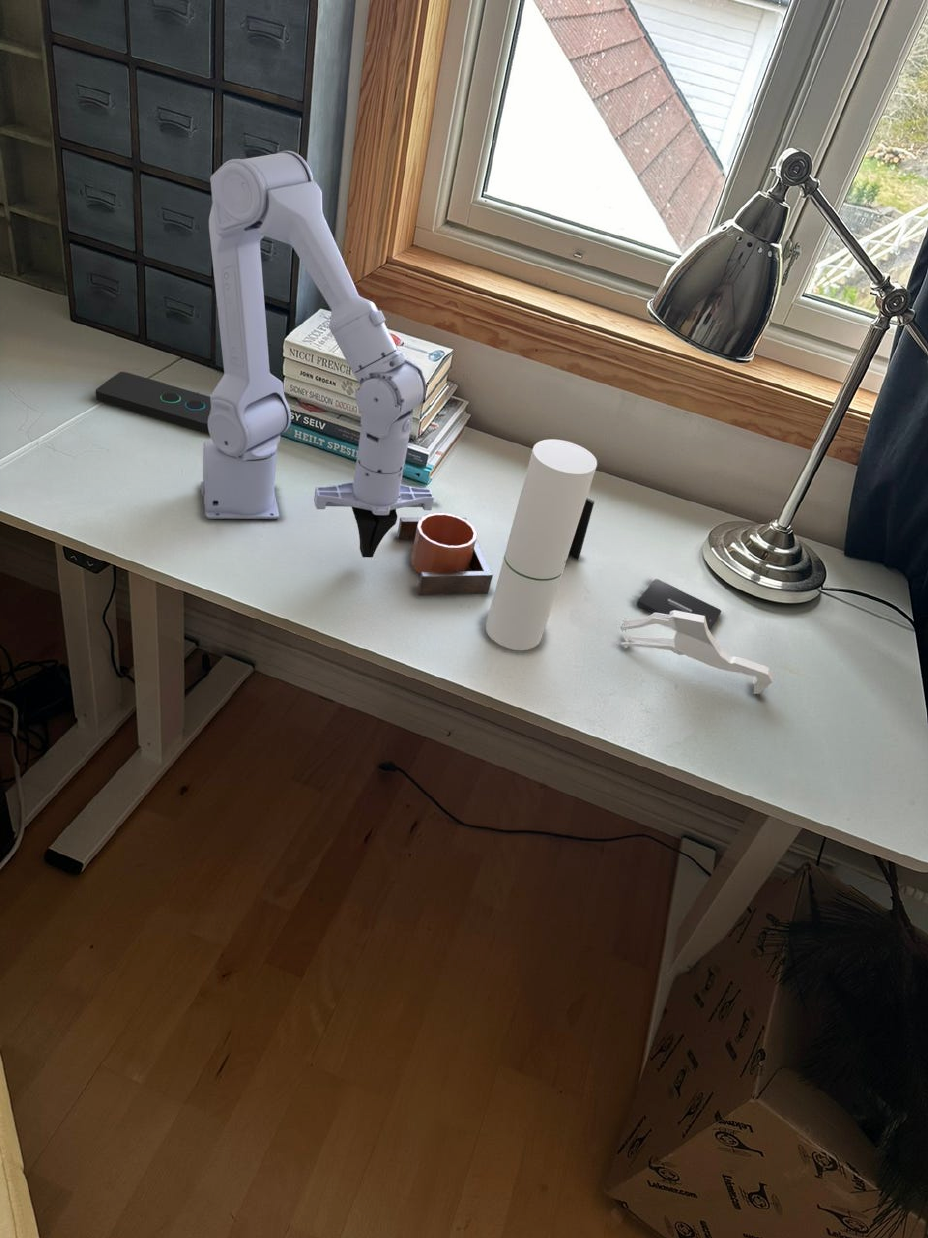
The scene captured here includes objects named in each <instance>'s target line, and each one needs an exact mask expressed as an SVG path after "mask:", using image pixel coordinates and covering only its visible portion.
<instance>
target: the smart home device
mask: <svg viewBox="0 0 928 1238" xmlns="http://www.w3.org/2000/svg"><path fill="white" fill-rule="evenodd" d="M210 396H211V395H210ZM210 396H209V395H206V394H202V393H199V392H196V391H192V390H188V389H186V388H182V387H178V386H175V385H171V384H168V383H165V382H162V381H158V380H155V379H151V378H148V377H144V376H141V375H137V374H134V373H130V372H127V371H119V372H118V373H116V374H114V375H113V376H112V377H110V378H109V379H108V380H107V381H105V382H104V383H102V384H101V385H99V386H98V387H97V388H95V399H96V401H98V402H100V403H104V404H106V405H110V406H112V407H117V408H120V409H124V410H126V411H130V412H134V413H136V414H140V415H144V416H148V417H150V418H153V419H158V420H159V421H160V420H161V421H163V422H167V423H171V424H175V425H178V426H181V427H185V428H188V429H191V430H195V431H198V432H202V433H205V434H208V435H210V434H209V430H208V417H209V414H210V411H211V401H210Z"/></svg>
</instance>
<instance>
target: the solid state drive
mask: <svg viewBox="0 0 928 1238" xmlns="http://www.w3.org/2000/svg"><path fill="white" fill-rule="evenodd" d="M636 605H637V606H639V607H640V608H642V609H644V610H646V611H648V612H650V613H652V614H653V613H661V614H667V615H670V612H671V611H673V610H676V611H681V612H686V613H692V614H697V615H702V616H705V619H706V622H707V626H708V629H709V631H711V629H712V627H713V626H714V624H715V623H716V621H717V620H718V618H719V617H720V616H721V613H722V610H721V609H720V608H718V607H716V606H714V605H711V604H710V603H708V602H705V601H703V600H702V599H699V598H697V597H696V596H693V595H691V594H690V593H688V592H685V591H683V590H681V589H678V588H677V587H675V586H673V585H671V584H669V583H667V582H665V581H663V580H660V579H658V578H655V579H654V580H653V581H652V582H651V584H650V585H649V586H648V587H647V588H646V589H645V591H644V592H643V593H642V595H641V596H639V598H638V599H637V601H636Z"/></svg>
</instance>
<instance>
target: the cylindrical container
mask: <svg viewBox="0 0 928 1238" xmlns="http://www.w3.org/2000/svg"><path fill="white" fill-rule="evenodd" d="M597 467H598V460H597V458H596V456H595V455H594V454H593V453H592V452H590V451H589V450H588V449H586V448H585V447H583V446H581V445H579V444H577V443H574V442H571V441H567V440H562V439H553V438H551V439H544V440H540V441H538V442H536V443H535V444H534V445H533V447H532V450H531V454H530V458H529V461H528V465H527V469H526V473H525V477H524V480H523V484H522V488H521V491H520V495H519V499H518V503H517V507H516V510H515V514H514V518H513V522H512V525H511V528H510V533H509V537H508V540H507V544H506V548H505V552H504V554H503V558H502V562H501V566H500V570H499V574H498V577H497V581H496V586H495V589H494V593H493V596H492V599H491V604H490V608H489V611H488V615H487V618H486V619H487V620H486V622H485V630H486V633H487V636H489V638H490V639H491V640H492V641H494V642H495V643H496V644H498V645H499V646H500V647H503V648H506V649H508V650H514V651H528V650H532V649H535V648H536V647H537V646H539V644H540V643H541V641H542V638H543V635H544V632H545V629H546V626H547V622H548V620H549V616H550V613H551V610H552V607H553V604H554V601H555V598H556V595H557V591H558V588H559V586H560V583H561V579H562V577H563V573H564V570H565V566H566V564H567V560H568V557H569V555H568V554H569V551H570V548H571V545H572V542H573V539H574V536H575V533H576V529H577V526H578V523H579V520H580V517H581V514H582V511H583V508H584V504H585V501H586V498H588V495H589V492H590V489H591V486H592V483H593V479H594V476H595V472H596V471H597Z"/></svg>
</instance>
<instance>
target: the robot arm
mask: <svg viewBox="0 0 928 1238" xmlns="http://www.w3.org/2000/svg"><path fill="white" fill-rule="evenodd" d="M209 180H210V189H211V190H210V191H211V200H212V201H211V202H212V204H211V207H210V213H209V216H208V233H209V239H210V249H211V260H212V268H213V269H212V270H213V277H214V278H213V279H214V280H213V281H214V287H215V288H214V289H215V296H216V307H217V316H218V326H219V336H220V344H221V355H222V364H223V371H224V373H223V376H221V377H222V378H221V379H220V380H219V382H217V385H216V386H215V388H214V390H213V391H212V393H211V394H210V401H211V411H210V414H209V417H208V430H209V434H208V435H209V437H210V439H211V440H212V441H205V442H203V448H202V453H203V455H202V481H200V492H201V496H203V504H204V513H205V518H207V519H209V520H211V519H212V520H213V519H214V520H218V519H219V520H224V519H225V520H237V519H238V520H278V519H279V518H280V513H279V508H278V502H277V498H276V494H275V486H276V485H275V484H276V469H277V467H276V466H277V456H278V445H279V444H280V443H281V435H282V434H283V433H284V434H285V433H286V432H287V430H288V429H289V428H290V426H291V423H292V412H291V408H290V405H289V403H288V401H287V398H286V396H285V390H284V383H283V381H281V380H280V379H279V378H277V377H276V376H275V375H273V374H272V373H271V371H270V360H269V359H270V357H269V346H268V345H269V344H268V333H267V320H266V319H267V317H266V307H265V306H266V305H265V294H264V282H263V279H264V278H263V267H262V254H261V253H262V252H261V240H262V239H263V238H265V237H267V238H270V239H273V240H276V241H279V242H281V243H284V244H287V245H290V246H291V247H292V249H293V250H294V252H295V253H296V255H297V257H298V259H299V260H300V262H301V263H302V266H304V268H305V270H306V271H307V273H308V275H309V277H310V279H312V281H313V282H314V284H315V286H316V287H317V289H318V291H319V292H320V294H321V296H322V297H323V299H324V300H325V302H326V303H327V305H328V307H329V309H330V310H331V311H330V312H331V313H330V319H329V323H328V328H329V331H330V332H331V334H332V336H333V339H334V340H335V342H336V343H337V346H338V347H339V349H340V351H341V353H342V355H343V357H344V359H345V360H346V363H347V364H348V367H349V368H350V369H351V372H352V374H353V376H354V377H355V379H356V381H357V383H358V385H359V387H358V388H355V390H354V396H355V402H356V404H357V408H358V409H359V412H360V424H359V425H360V433H359V440H358V447H357V454H356V455H357V456H356V462H355V468H354V476H353V481H349V482H345V483H340V484H334V485H330V486H329V485H328V486H316V487H315V490H314V499H313V500H314V505H315V508H316V510H325V509H326V507H344V508H345V507H350V508H351V510H352V513H353V515H354V519H355V523H356V524H357V532H358V537H359V551H360V554H361V557H362V558H374V556H375V553H376V551H377V548H378V547H379V545H380V543H381V541H382V540H383V539H384V537H385V535H386V534H387V533H388V532H389V531H390V530H391V529H392V528H393V527H394V526H395V525H396V524H397V521H398V513H397V509H402V508H422V510H424V511H432V509H433V506H434V501H435V496H434V494H433V492H432V490H431V489H430V488H421V487H414V486H409V485H406V484H402V481H403V476H404V468H405V464H406V459H407V454H408V448H409V442H410V435H411V430H412V423H413V418H414V411H413V410H414V409H416V408H417V407H418V406H419V405H421V403H423V401H424V400H425V398H426V395H427V382H426V379H425V376H424V374H423V370H422V369H421V367H420V366H419V365H418V364H417V363H416V362H414V361H413V360H412V359H409V358H408V357H406V355H405V354H404V352H402V351H401V350H399V349H398V346H397V345H396V342H395V340H394V339H393V337H392V335H391V333H390V331H389V329H388V327H387V325H386V323H385V322H386V320H387V319H386V317H385V315H384V314H383V311H382V310H378V307H377V305H376V304H375V302H373V301H372V300H369V299H367V298H365V297H363V296H361V295H359V293H358V291H357V288H356V286H355V284H354V281H353V280H352V277H351V275H350V272H349V270H348V268H347V266H346V263H345V261H344V259H343V257H342V254H341V252H340V250H339V248H338V245H337V242H336V241H335V237H334V236H333V234H332V231H331V230H330V226H329V224H328V223H327V220H326V218H325V216H324V212H323V192H322V189H321V188H320V186H319V184H318V183H317V182H316V181H315V180H314V175H313V172H312V170H311V168H310V166H309V164H308V162H307V161H306V160H305V159H304V158H303V157H302V156H301V155H300V154H298V153H297V152H295V151H292V150H281V151H278V152H277V153H272V154H266V155H260V156H254V157H249V158H242V159H241V158H232V159H229V160H227V161H225V162H223V164H222V165H221V166H220V167H219V168H218V169H216V171H215V172H214V173H213V174H212V175H211V176H210V179H209Z"/></svg>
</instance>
